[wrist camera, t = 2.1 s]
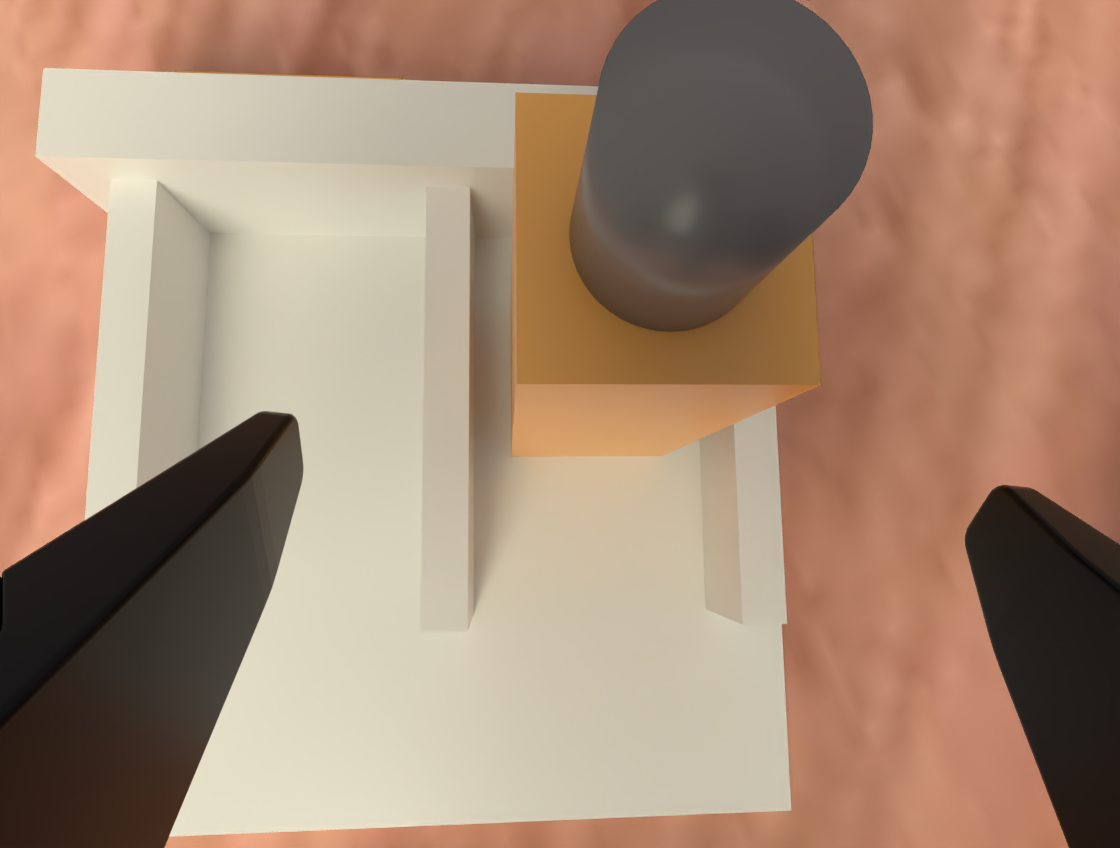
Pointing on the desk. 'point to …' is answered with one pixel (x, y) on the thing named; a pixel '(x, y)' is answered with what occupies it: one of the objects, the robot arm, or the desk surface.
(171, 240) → the white ribbed tray
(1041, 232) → the desk surface
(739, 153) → the orange plug
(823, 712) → the desk surface
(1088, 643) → the robot arm
